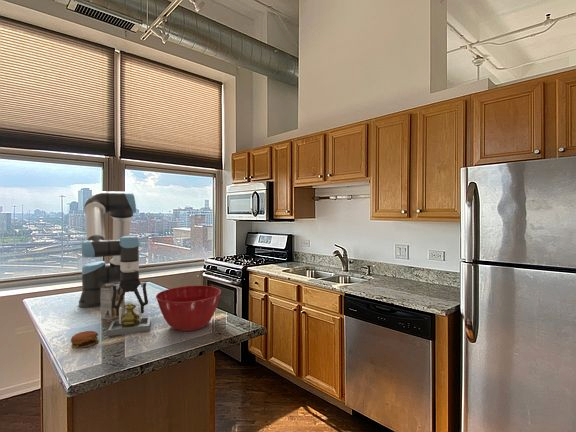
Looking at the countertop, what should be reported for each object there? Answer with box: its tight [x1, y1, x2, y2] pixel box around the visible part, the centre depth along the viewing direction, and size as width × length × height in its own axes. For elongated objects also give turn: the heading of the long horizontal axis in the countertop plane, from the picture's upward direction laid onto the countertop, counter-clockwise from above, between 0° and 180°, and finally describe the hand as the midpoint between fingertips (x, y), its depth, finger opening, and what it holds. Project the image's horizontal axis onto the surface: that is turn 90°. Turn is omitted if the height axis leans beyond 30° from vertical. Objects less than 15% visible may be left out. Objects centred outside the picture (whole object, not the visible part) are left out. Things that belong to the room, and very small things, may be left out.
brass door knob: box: [121, 303, 139, 328], centre depth 150 cm, size 7×8×10 cm
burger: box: [70, 330, 99, 349], centre depth 133 cm, size 10×9×5 cm
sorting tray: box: [107, 316, 151, 337], centre depth 150 cm, size 13×16×2 cm
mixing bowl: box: [155, 285, 222, 332], centre depth 153 cm, size 28×28×15 cm
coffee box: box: [100, 283, 125, 321], centre depth 167 cm, size 9×6×16 cm
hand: (130, 321), depth 150 cm, fingers closed on brass door knob, 7 cm apart
